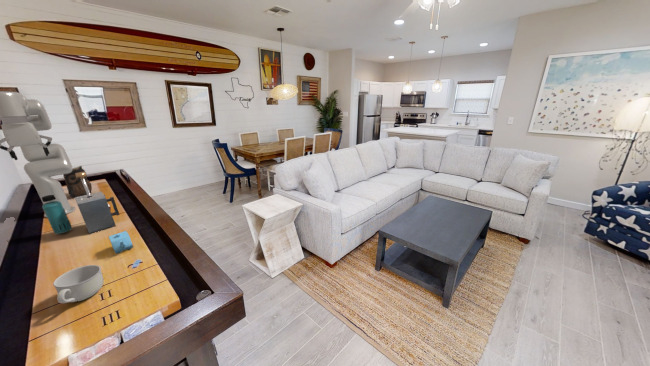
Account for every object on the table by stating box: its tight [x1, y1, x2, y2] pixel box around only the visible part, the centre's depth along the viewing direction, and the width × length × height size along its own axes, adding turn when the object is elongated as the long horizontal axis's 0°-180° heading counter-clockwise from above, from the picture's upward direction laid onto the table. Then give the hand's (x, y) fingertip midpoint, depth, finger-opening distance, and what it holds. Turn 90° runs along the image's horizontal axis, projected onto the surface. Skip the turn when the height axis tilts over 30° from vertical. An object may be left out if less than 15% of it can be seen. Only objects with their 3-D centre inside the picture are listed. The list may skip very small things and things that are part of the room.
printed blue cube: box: [108, 230, 134, 255], centre depth 101 cm, size 12×6×8 cm, turn 48°
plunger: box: [75, 171, 92, 198], centre depth 115 cm, size 8×8×18 cm
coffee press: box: [74, 191, 120, 235], centre depth 120 cm, size 10×13×17 cm
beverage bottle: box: [41, 195, 73, 235], centre depth 114 cm, size 6×7×20 cm
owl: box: [62, 165, 93, 199], centre depth 162 cm, size 13×13×20 cm
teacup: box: [53, 264, 104, 304], centre depth 76 cm, size 14×11×8 cm
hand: (32, 157), depth 112 cm, fingers open, 9 cm apart
